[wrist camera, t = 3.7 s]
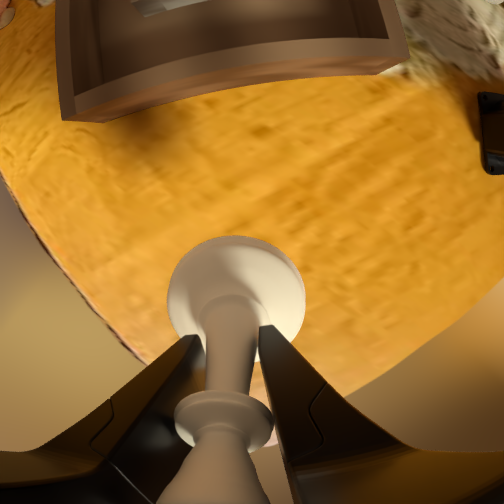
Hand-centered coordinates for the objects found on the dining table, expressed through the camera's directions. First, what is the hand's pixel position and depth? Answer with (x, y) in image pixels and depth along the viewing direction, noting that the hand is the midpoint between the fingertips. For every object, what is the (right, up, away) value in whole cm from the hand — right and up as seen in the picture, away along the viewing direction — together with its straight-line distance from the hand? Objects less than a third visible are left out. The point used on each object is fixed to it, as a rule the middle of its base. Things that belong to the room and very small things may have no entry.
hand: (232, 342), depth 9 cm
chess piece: (0, +1, +3) cm, 3 cm away
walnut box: (-2, +23, +4) cm, 23 cm away
